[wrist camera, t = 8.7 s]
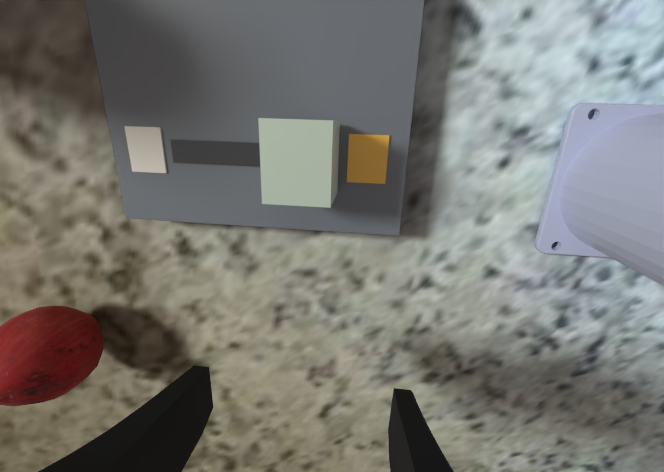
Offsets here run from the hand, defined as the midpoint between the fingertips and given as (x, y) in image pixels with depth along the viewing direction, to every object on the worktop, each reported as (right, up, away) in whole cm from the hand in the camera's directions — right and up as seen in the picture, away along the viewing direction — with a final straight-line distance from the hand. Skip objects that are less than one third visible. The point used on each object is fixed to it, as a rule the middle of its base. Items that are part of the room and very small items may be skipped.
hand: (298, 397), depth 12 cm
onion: (-17, 0, +12) cm, 21 cm away
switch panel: (-2, +16, +5) cm, 17 cm away
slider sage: (0, +10, +4) cm, 11 cm away
